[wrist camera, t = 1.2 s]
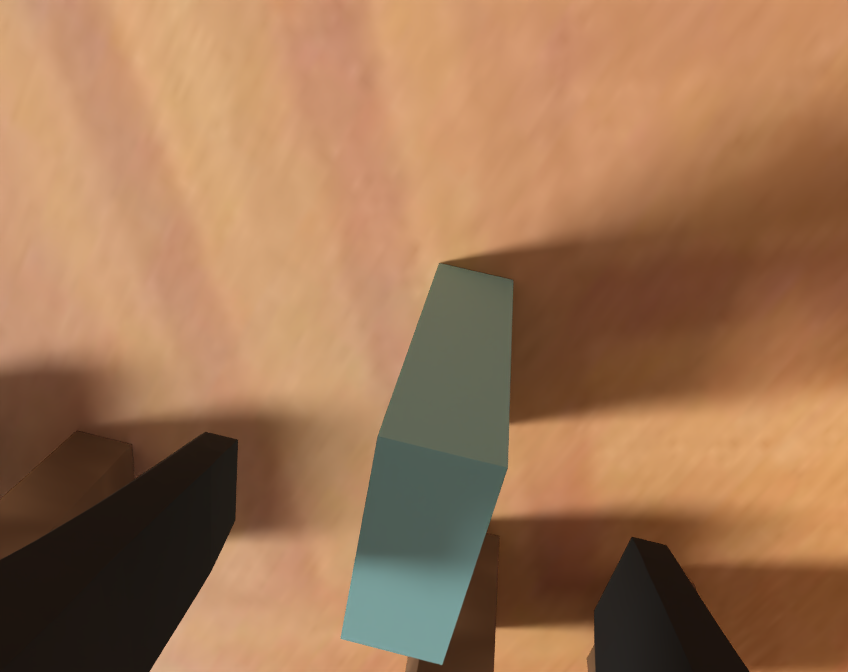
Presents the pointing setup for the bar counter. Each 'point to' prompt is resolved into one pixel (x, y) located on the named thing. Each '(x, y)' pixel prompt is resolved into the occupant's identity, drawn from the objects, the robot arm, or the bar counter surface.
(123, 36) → the bar counter surface
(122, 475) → the domino
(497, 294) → the domino
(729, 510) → the bar counter surface
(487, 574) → the domino
